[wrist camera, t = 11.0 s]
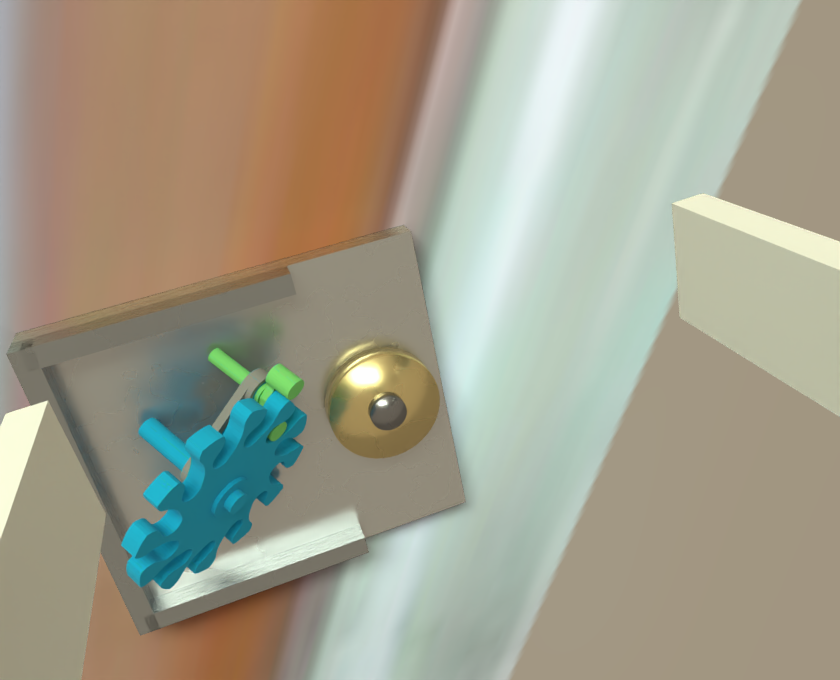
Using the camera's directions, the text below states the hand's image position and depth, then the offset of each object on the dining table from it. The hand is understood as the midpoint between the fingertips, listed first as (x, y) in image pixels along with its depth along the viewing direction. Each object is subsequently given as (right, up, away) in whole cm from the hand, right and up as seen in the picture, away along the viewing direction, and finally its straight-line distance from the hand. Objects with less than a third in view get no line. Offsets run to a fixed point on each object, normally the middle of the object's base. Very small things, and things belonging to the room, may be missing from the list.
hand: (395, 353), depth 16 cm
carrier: (-7, -4, +23) cm, 24 cm away
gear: (-9, -4, +21) cm, 24 cm away
